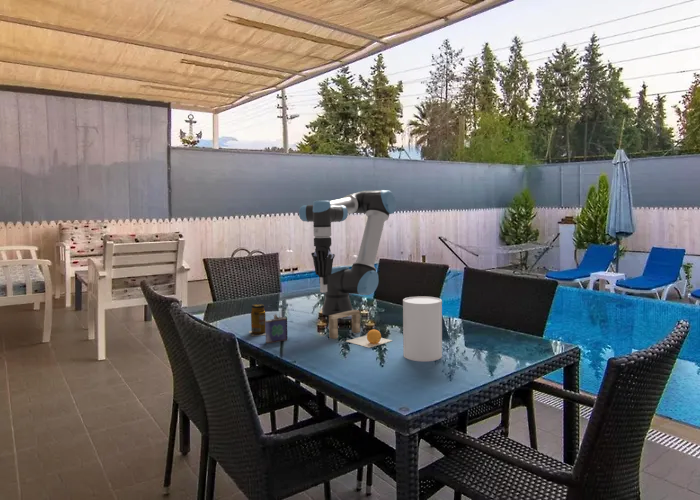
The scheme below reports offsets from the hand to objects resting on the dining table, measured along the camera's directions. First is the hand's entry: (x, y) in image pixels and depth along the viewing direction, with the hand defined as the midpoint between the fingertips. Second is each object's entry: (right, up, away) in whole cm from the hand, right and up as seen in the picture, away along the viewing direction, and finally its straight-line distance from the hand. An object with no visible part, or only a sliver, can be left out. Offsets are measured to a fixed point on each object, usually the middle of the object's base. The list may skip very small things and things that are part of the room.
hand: (323, 291), depth 223 cm
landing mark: (+19, -18, -18) cm, 32 cm away
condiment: (-27, -18, -2) cm, 33 cm away
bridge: (+9, -17, -8) cm, 21 cm away
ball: (+20, -16, -22) cm, 34 cm away
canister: (+37, -20, -38) cm, 56 cm away
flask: (-18, -19, -15) cm, 30 cm away
